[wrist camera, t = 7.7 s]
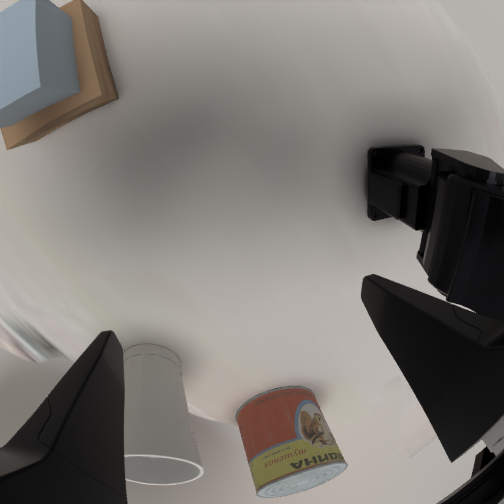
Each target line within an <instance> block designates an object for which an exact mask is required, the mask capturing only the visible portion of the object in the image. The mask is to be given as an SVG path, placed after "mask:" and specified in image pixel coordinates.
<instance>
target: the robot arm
mask: <svg viewBox="0 0 504 504" xmlns="http://www.w3.org/2000/svg"><path fill="white" fill-rule="evenodd" d="M419 150H420V152H419ZM374 152H375V155H373V153H374ZM431 156H432V160H430V159H427V158H424V157H425V150H424V147H423V146H421V145H402V146H386V147H373V148H371V149H369V152H368V165H369V174H368V217H369V219H371V220H373V221H376V220H381V219H385V218H389V217H393V218H395V219H396V220H400V221H402V222H403V223H405V224H406V225H408V226H410V227H411V228H413V229H414V230H416V231H418V230H419V231H421V232H423V233H422V238H421V244H420V248H419V251H418V252H417V257H416V258H417V259H418V261H419V262H420V264H421V266H422V267H423V269H424V270H425V272H426V273H427V275H428V276H429V277H428V281H429V283H430V284H431V285H432V286H433V287H435V288H436V289H437V290H438V291H439V292H440V293H441V294H442V295H444V296H445V297H446V301H448V302H451V303H455V304H459V305H462V306H464V307H467V308H469V309H471V310H473V311H474V312H476V313H474V312H471V311H469V310H466V309H463V308H461V307H458V306H456V305H453V304H452V305H451V303H448V302H446V301H443V300H441V299H438V298H435V297H433V296H430V295H428V294H425V293H423V292H420V291H417V290H415V289H412V288H410V287H407V286H404V285H402V284H399V283H396V282H394V281H391V280H389V279H386V278H383V277H381V276H378V275H375V274H371V275H368V276H365V277H364V278H363V282H362V290H361V299H362V302H363V304H364V306H365V308H366V310H367V312H368V314H369V316H370V318H371V320H372V322H373V324H374V326H375V328H376V330H377V332H378V333H379V335H380V337H381V338H382V340H383V342H384V343H385V345H386V346H387V348H388V350H389V351H390V353H391V355H392V356H393V358H394V360H395V361H396V363H397V365H398V366H399V368H400V370H401V371H402V373H403V375H404V376H405V378H406V380H407V381H408V383H409V385H410V387H411V388H412V390H413V392H414V394H415V395H416V397H417V399H418V401H419V403H420V404H421V406H422V408H423V410H424V412H425V413H426V415H427V417H428V419H429V421H430V423H431V425H432V427H433V429H434V430H435V432H436V434H437V436H438V438H439V440H440V442H441V444H442V446H443V448H444V450H445V451H446V454H447V456H448V458H449V459H450V461H451V463H452V462H453V461H455V460H456V459H458V458H459V457H460V456H462V455H463V454H464V453H465V452H467V451H468V450H469V449H471V448H472V447H473V446H474V445H475V444H477V443H478V442H479V441H480V440H481V439H482V440H483V441H484V443H485V444H486V447H485V448H484V449H483V450H482V451H481V452H479V453H478V454H477V455H476V458H475V463H474V468H473V472H472V476H471V479H470V480H468V481H467V482H466V483H464V484H463V485H462V486H461V487H459V488H458V489H456V490H455V491H454V492H453V493H451V494H450V495H448V496H447V497H445V498H444V499H443V500H441V501H440V502H438V503H437V504H504V169H503V168H502V167H500V166H499V165H498V164H497V163H495V162H494V161H493V160H491V159H490V158H488V157H485V156H482V155H478V154H475V153H471V152H468V151H460V150H450V149H437V148H431ZM374 213H375V215H374V216H373V214H374ZM477 313H478V314H477ZM124 405H125V380H124V360H123V349H122V346H121V344H120V342H119V341H118V339H117V337H116V335H115V333H114V332H113V331H112V330H108V331H103V332H101V333H100V334H99V335H98V336H97V337H96V339H95V340H94V341H93V342H92V343H91V344H90V345H89V347H88V348H87V349H86V350H85V351H84V352H83V354H82V355H81V356H80V357H79V358H78V359H77V361H76V362H75V363H74V364H73V365H72V367H71V368H70V369H69V370H68V372H67V373H66V374H65V375H64V376H63V377H62V379H61V380H60V381H59V382H58V384H57V385H56V386H55V387H54V389H53V390H52V391H51V393H50V394H49V395H48V397H46V399H45V400H44V401H43V403H42V404H41V405H40V406H39V407H38V409H37V410H36V411H35V412H34V414H33V415H32V416H31V417H30V418H29V419H28V420H27V422H26V423H25V424H24V425H23V426H22V427H21V428H20V429H19V430H18V431H17V433H16V434H15V435H14V436H13V437H12V438H11V439H10V440H9V442H8V443H7V444H6V445H4V446H3V447H1V448H0V504H128V503H127V497H126V496H127V494H126V480H125V459H124Z"/></svg>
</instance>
